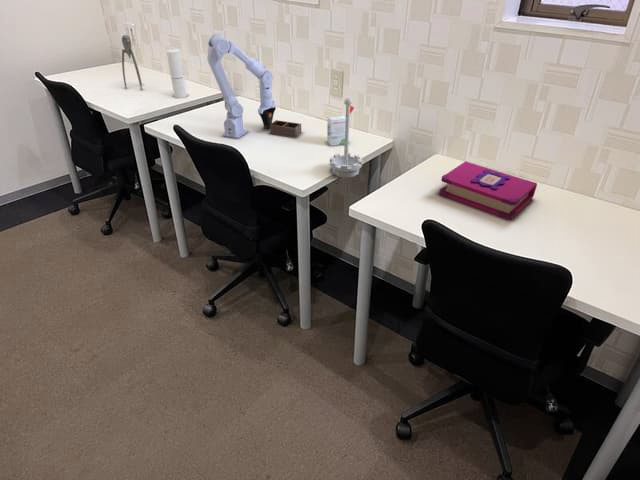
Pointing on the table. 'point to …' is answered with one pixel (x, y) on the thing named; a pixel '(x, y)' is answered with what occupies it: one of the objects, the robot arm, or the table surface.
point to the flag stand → (346, 152)
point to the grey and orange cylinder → (268, 122)
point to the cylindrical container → (176, 73)
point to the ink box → (336, 130)
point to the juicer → (128, 50)
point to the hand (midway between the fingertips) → (267, 123)
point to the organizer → (285, 128)
